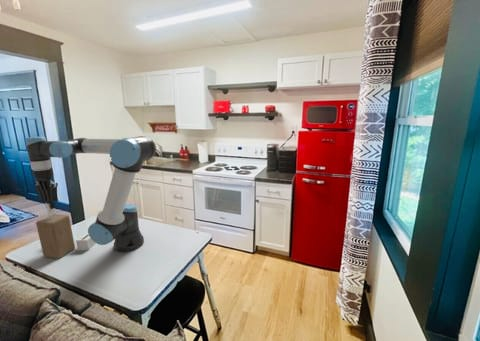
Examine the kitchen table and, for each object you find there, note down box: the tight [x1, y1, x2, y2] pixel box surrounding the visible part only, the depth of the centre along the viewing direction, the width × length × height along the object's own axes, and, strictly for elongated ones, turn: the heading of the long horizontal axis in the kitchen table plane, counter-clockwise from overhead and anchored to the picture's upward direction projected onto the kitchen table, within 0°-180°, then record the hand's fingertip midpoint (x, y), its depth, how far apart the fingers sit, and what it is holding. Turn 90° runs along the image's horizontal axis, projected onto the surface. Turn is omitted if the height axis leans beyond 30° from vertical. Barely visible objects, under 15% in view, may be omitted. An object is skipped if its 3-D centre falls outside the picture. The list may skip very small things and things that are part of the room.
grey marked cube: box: [75, 234, 97, 251], centre depth 126 cm, size 6×6×6 cm
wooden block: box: [35, 213, 76, 260], centre depth 119 cm, size 10×10×20 cm
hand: (52, 214), depth 117 cm, fingers closed
